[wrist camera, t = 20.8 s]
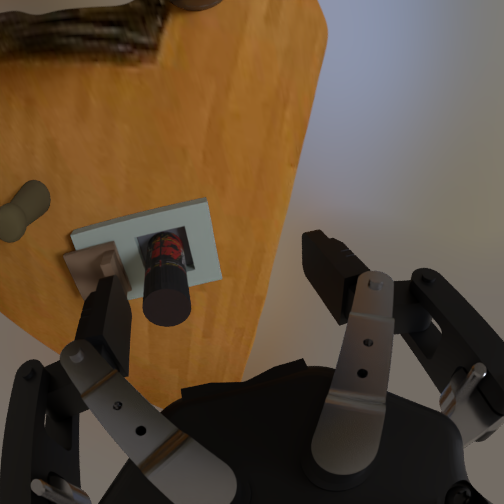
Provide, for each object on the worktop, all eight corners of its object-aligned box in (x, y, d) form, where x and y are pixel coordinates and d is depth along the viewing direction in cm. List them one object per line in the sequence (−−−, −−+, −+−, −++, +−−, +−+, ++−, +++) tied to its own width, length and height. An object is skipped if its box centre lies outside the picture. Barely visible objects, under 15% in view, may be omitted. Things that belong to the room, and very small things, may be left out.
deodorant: (190, 249, 49) (201, 309, 36) (163, 270, 49) (165, 333, 37) (167, 224, 46) (168, 279, 33) (139, 246, 46) (132, 307, 34)
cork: (50, 217, 40) (25, 252, 30) (20, 214, 38) (-10, 247, 28) (50, 181, 37) (21, 208, 28) (19, 178, 35) (-15, 204, 26)
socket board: (73, 229, 42) (70, 235, 40) (205, 197, 45) (207, 201, 44) (102, 298, 49) (101, 305, 47) (220, 272, 53) (222, 279, 51)
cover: (64, 253, 41) (56, 270, 37) (114, 240, 42) (109, 256, 38) (85, 298, 45) (79, 316, 41) (131, 288, 47) (129, 306, 43)
